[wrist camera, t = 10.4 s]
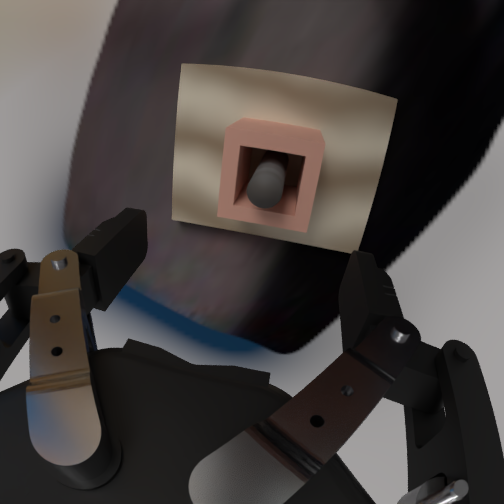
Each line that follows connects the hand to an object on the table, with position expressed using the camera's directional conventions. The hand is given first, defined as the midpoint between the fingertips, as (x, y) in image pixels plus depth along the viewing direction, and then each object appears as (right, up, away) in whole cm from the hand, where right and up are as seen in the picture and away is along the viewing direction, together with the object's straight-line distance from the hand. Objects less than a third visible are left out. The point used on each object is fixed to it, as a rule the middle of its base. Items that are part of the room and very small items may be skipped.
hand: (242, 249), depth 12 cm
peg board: (+2, +8, +14) cm, 16 cm away
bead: (+2, +7, +13) cm, 15 cm away
